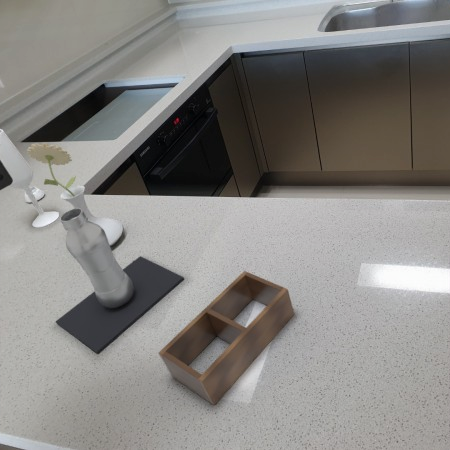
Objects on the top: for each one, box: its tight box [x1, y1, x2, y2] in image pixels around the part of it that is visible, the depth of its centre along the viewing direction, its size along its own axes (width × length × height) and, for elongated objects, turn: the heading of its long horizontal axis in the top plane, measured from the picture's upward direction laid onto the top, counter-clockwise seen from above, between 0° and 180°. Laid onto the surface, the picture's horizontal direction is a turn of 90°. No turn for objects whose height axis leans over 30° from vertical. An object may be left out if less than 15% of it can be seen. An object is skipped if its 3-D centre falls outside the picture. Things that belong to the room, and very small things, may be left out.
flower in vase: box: [26, 142, 124, 247], centre depth 97 cm, size 13×11×25 cm
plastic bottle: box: [59, 208, 134, 308], centre depth 81 cm, size 6×7×20 cm
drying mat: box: [55, 255, 185, 355], centre depth 87 cm, size 20×14×1 cm
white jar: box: [24, 186, 45, 203], centre depth 126 cm, size 5×3×5 cm
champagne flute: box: [0, 128, 60, 228], centre depth 110 cm, size 7×7×24 cm
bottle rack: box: [158, 270, 295, 406], centre depth 73 cm, size 19×10×6 cm, turn 143°
